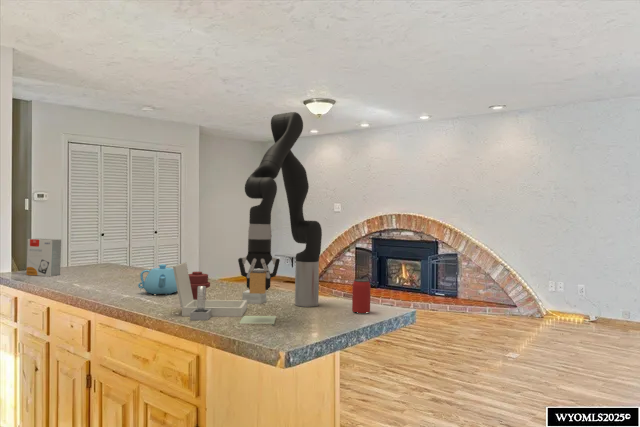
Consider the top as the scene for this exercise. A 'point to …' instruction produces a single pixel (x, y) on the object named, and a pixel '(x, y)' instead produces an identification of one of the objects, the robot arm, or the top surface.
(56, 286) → the top surface
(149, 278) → the teapot
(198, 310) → the rod
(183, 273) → the case
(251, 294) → the small box
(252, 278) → the module
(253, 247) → the robot arm
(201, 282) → the mechanical component
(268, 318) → the pad
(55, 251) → the hard drive box
